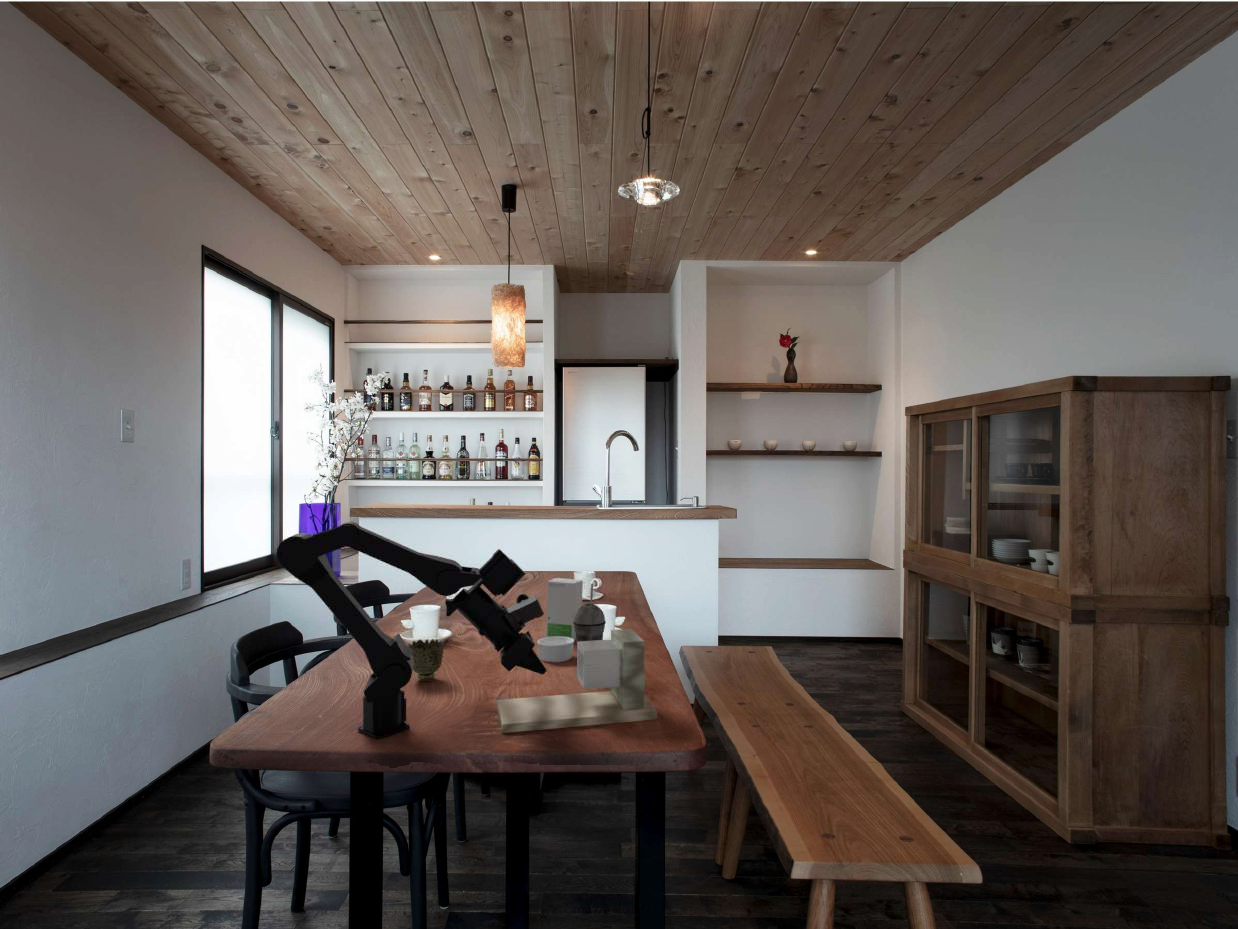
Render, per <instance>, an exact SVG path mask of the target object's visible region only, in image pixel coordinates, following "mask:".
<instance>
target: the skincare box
mask: <svg viewBox="0 0 1238 929" xmlns="http://www.w3.org/2000/svg"><path fill="white" fill-rule="evenodd" d="M583 584H584V581H583V579H574V578H562V577H555V578H552V579H549V580H548V581H547V592H546V593H547V594H546V618H545V619H546V622H545V638H546V637H556V636H561V637H569V638H572V639H574V641H576V632H575V629H574V624H573V622H574V617H575V614H576V612H577V610H578V609H579V608H580V607H581V606H583V586H584V585H583Z"/></svg>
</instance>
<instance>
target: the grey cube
mask: <svg viewBox="0 0 1238 929" xmlns="http://www.w3.org/2000/svg"><path fill="white" fill-rule="evenodd" d="M576 652H577V653H576V654H577V655H576V657H577V658H576V660H577V661H576V664H577V665H576V668H577V669H576V671H577V673H576V676H577V677H576V678H577V680H578V682H579V683H580V685H581V687H582V689H584V690H594V689H604V688H605V689H606V688H607V689H609V688H611V687H621V648H620V647H619V646H618V644H617V643H616V642H615V641H614V640H613V639H612V640H611V639H603V640H595V641H578V642H577V644H576Z"/></svg>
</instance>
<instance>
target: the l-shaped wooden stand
mask: <svg viewBox="0 0 1238 929" xmlns="http://www.w3.org/2000/svg"><path fill="white" fill-rule="evenodd" d="M612 639H613V640H614V641H615V642H616V643H617V644H618V646H619V647H620V648H621V687H610V691H609V690H608V691H605V690H604V691H592V692H581V693H570V694H569V693H568V694H557V695H544V696H543V695H541V696H531V697H517V698H516V697H515V698H505V699H497V700H496V701H497V702H496V710H497V714H498V719H499V720H498V721H499V724H500V730H501V733H502V734H507V733H509V734H510V733H517V732H518V733H519V732H529V731H538V730H539V731H543V730H552V729H553V730H554V729H563V728H572V727H573V728H575V727H585V726H586V727H587V726H596V725H607V724H609V725H610V724H617V723H618V724H620V723H631V722H643V721H652V720H653V721H654V720H658V710H657V709H656V708H655V706H653V704H652V703H651V702H650V700H648V699H647V697H646V696H645V640H644V639H643V638H641V637H640V635H638V634H637V633H636V632H635V631H634V630H633V629H631V628H625V629H623V628H622V629H611V630H610V640H612Z"/></svg>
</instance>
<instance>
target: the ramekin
mask: <svg viewBox="0 0 1238 929" xmlns="http://www.w3.org/2000/svg"><path fill="white" fill-rule="evenodd" d="M536 644H537V645H538V657H539V659H540V660H541V662H545V663H562V662H567V661H569V660H571V659H572V658H573V655H574V644H575V640H574V639H572V638H569V637H561V636H556V637H546V636H545V637H542V638H540V639H538V640H537V643H536Z"/></svg>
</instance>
